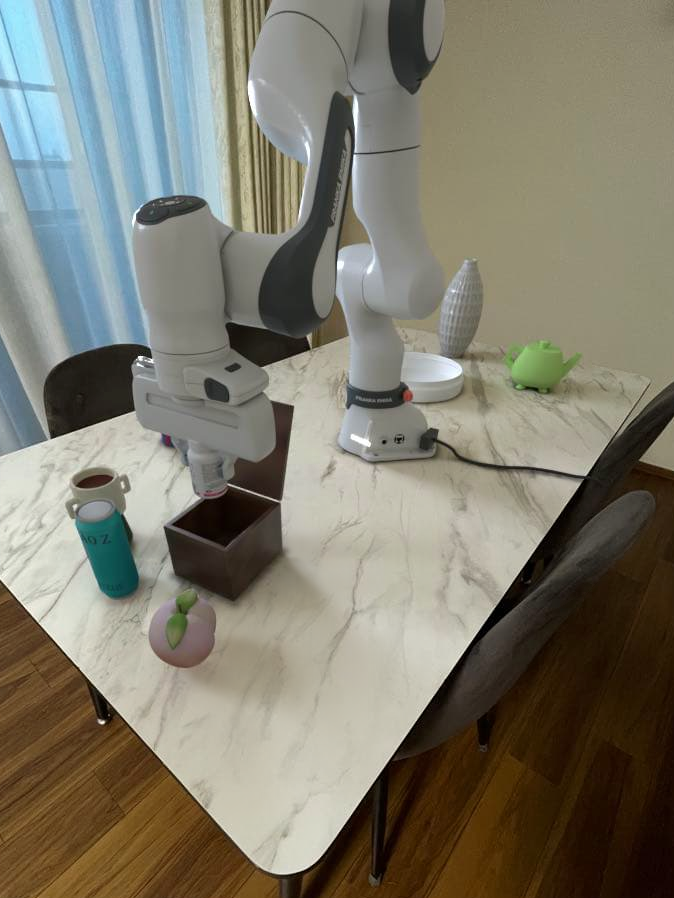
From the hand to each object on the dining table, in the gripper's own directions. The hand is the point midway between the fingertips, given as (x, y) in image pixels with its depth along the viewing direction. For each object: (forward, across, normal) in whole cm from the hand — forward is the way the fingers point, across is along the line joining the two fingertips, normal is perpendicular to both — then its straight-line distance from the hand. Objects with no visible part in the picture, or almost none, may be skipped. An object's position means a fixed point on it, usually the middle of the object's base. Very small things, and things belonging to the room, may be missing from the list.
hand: (208, 471), depth 64 cm
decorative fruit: (+18, +7, -16) cm, 25 cm away
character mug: (+18, -20, -4) cm, 28 cm away
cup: (+18, -38, +30) cm, 52 cm away
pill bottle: (+3, 0, 0) cm, 3 cm away
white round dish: (+18, -1, +92) cm, 94 cm away
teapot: (+18, +29, +110) cm, 115 cm away
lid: (+1, 0, +10) cm, 10 cm away
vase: (+18, +1, +125) cm, 126 cm away
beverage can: (+18, -10, -11) cm, 24 cm away
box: (+18, 0, +2) cm, 18 cm away
